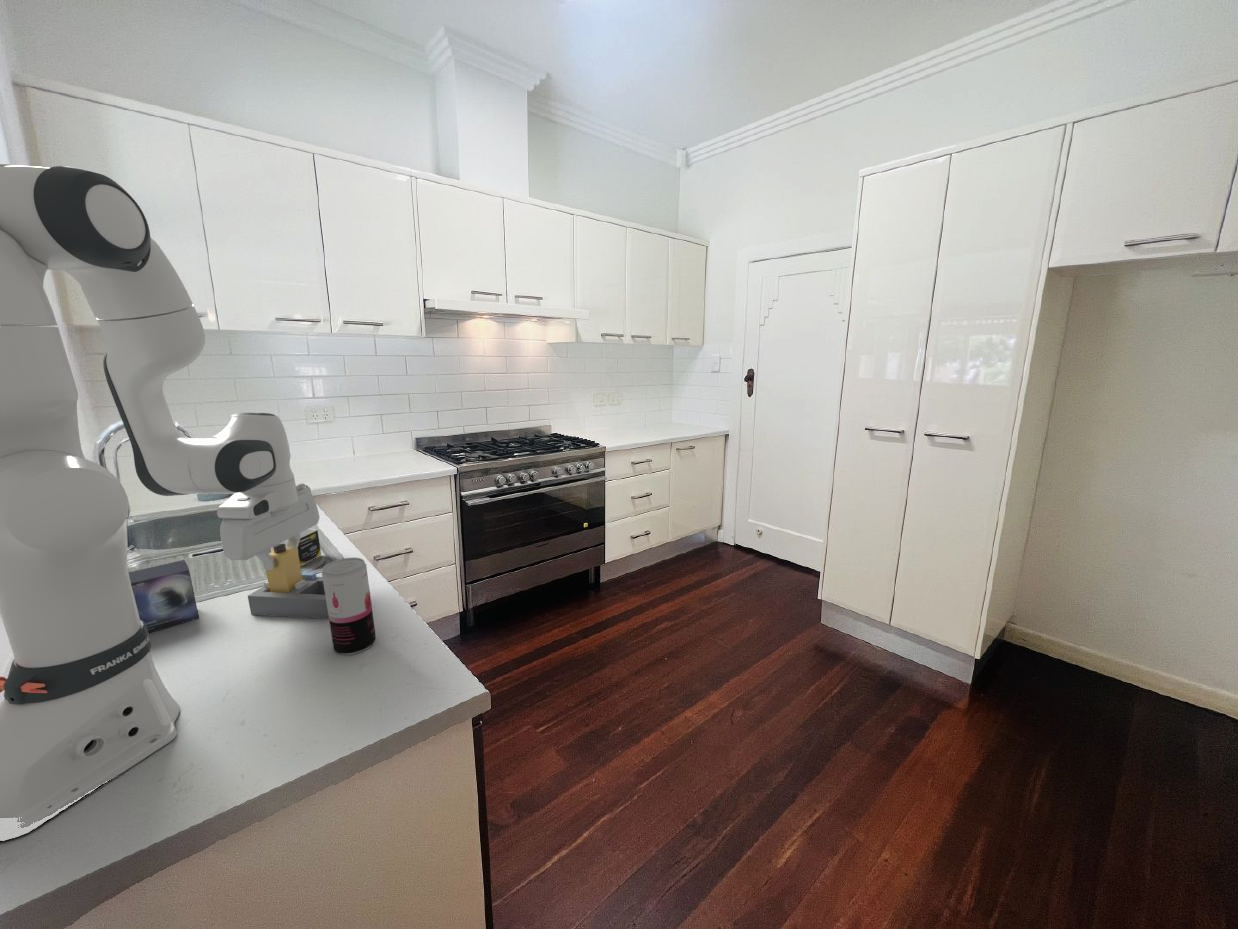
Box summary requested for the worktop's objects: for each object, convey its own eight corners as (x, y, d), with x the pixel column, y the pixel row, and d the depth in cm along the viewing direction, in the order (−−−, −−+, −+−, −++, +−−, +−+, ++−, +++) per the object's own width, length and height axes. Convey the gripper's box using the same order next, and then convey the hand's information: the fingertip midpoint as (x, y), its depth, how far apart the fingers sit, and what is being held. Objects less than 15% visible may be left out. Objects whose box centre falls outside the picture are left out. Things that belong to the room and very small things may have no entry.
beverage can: (384, 638, 89) (374, 560, 85) (353, 659, 83) (340, 576, 79) (357, 631, 91) (346, 554, 88) (325, 651, 85) (312, 570, 82)
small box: (124, 642, 88) (109, 587, 86) (122, 628, 93) (108, 576, 90) (200, 618, 96) (189, 568, 93) (195, 607, 100) (184, 558, 98)
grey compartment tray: (328, 618, 95) (325, 595, 94) (251, 614, 97) (246, 591, 96) (357, 596, 104) (354, 573, 103) (286, 592, 106) (282, 570, 105)
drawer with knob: (289, 598, 99) (280, 549, 96) (271, 597, 99) (261, 549, 97) (304, 588, 102) (296, 541, 100) (286, 587, 103) (277, 541, 100)
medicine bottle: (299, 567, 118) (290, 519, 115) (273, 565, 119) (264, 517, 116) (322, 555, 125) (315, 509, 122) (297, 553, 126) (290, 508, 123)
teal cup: (200, 503, 167) (192, 468, 164) (191, 498, 173) (184, 464, 170) (236, 496, 175) (230, 463, 172) (226, 491, 181) (220, 459, 178)
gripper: (294, 480, 106) (304, 541, 109) (207, 512, 86) (223, 585, 90) (322, 481, 106) (331, 542, 109) (240, 513, 86) (255, 587, 89)
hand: (282, 562), depth 99 cm, fingers closed on drawer with knob, 4 cm apart
